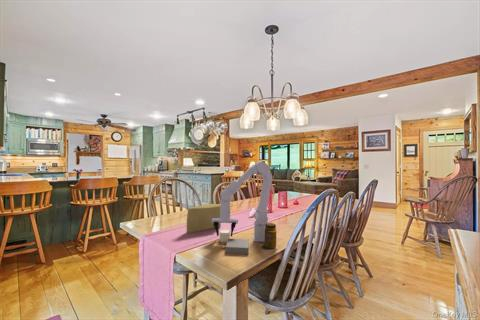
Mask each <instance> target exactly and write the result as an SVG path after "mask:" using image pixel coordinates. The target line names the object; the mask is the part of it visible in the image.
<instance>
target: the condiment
mask: <svg viewBox="0 0 480 320" xmlns="http://www.w3.org/2000/svg"><path fill="white" fill-rule="evenodd" d="M276 226H277V225H276V224H275V223H273V222H267V224H266V227H265V242H264V244H263V245H261V246H259V247H258V248H259V249H261V250H263V251H266V252H269V253H272V252H273V251H275V250H277V249H279V248H280V246H278V245H277V228H276Z"/></svg>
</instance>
